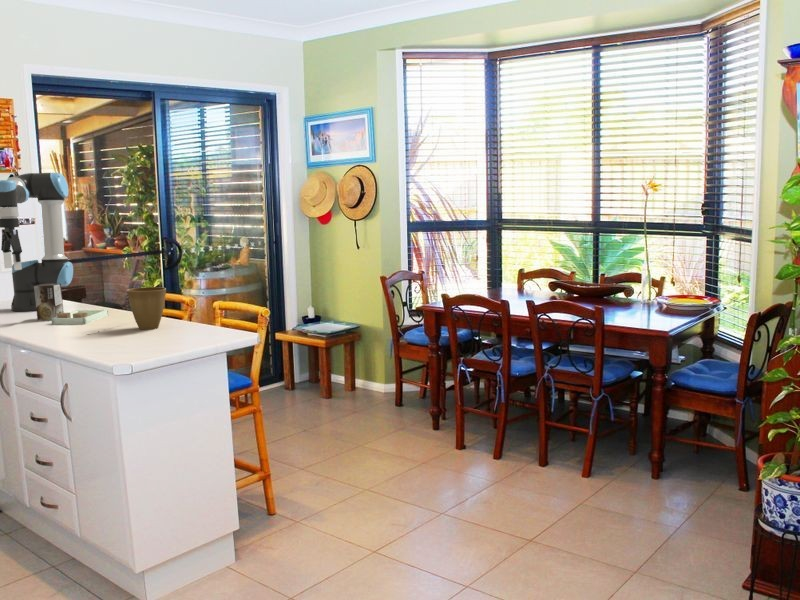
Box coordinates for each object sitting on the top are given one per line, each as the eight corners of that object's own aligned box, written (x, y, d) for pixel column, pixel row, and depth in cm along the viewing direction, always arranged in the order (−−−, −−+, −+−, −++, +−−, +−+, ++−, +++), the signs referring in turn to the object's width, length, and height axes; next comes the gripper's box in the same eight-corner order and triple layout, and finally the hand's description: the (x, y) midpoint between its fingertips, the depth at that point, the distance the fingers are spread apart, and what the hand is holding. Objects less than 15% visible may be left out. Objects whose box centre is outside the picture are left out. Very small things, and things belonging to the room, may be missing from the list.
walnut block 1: (61, 322, 318) (60, 312, 318) (71, 321, 319) (70, 312, 318) (58, 323, 314) (57, 314, 314) (68, 323, 315) (67, 314, 314)
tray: (77, 318, 335) (77, 310, 334) (108, 317, 334) (108, 309, 334) (52, 326, 313) (51, 318, 313) (85, 326, 312) (84, 318, 312)
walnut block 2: (80, 321, 318) (79, 312, 318) (88, 322, 317) (87, 312, 317) (73, 323, 315) (72, 313, 314) (81, 323, 313) (80, 314, 313)
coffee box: (65, 320, 330) (61, 283, 328) (56, 322, 324) (53, 285, 322) (45, 320, 331) (42, 283, 329) (36, 322, 325) (33, 285, 323)
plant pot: (156, 331, 297) (154, 291, 295) (122, 331, 300) (119, 291, 298) (175, 325, 311) (172, 286, 309) (142, 324, 314) (139, 286, 312)
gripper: (-10, 217, 321) (-5, 267, 324) (7, 218, 302) (12, 271, 305) (9, 217, 326) (13, 266, 329) (27, 217, 307) (32, 269, 310)
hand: (13, 268), depth 317 cm, fingers open, 13 cm apart
